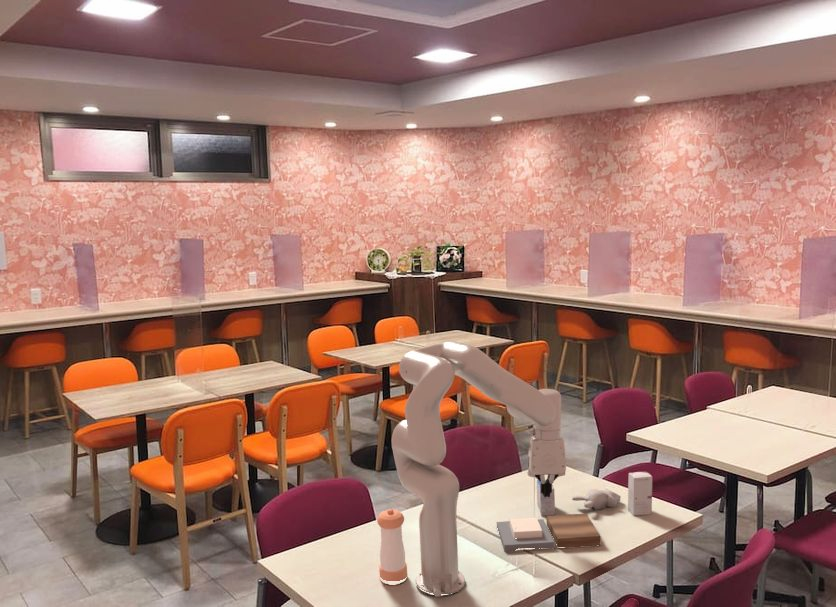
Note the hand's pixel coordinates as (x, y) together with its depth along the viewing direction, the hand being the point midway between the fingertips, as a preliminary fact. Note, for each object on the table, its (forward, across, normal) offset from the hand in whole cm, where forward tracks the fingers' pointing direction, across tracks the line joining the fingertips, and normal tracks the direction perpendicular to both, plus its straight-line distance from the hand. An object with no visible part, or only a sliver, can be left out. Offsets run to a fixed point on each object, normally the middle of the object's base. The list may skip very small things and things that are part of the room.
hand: (546, 495), depth 204 cm
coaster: (+11, -6, +1) cm, 12 cm away
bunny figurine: (+12, +21, +18) cm, 30 cm away
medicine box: (+13, +4, +18) cm, 22 cm away
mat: (+13, -6, +1) cm, 14 cm away
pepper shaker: (+15, -44, -16) cm, 49 cm away
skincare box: (+12, +32, +13) cm, 37 cm away
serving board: (+13, +8, +1) cm, 15 cm away
